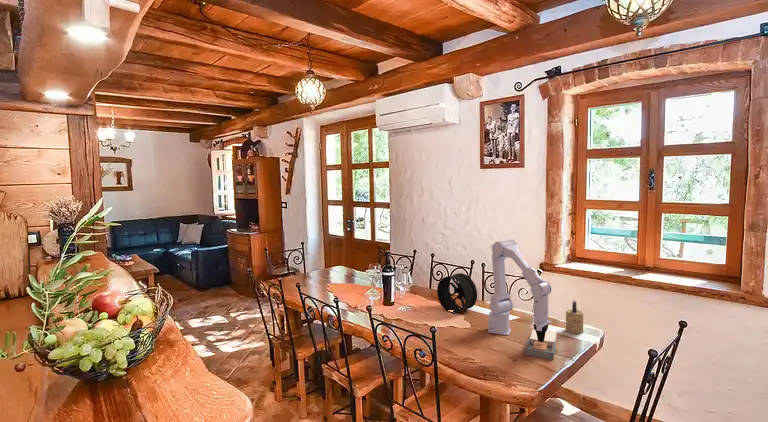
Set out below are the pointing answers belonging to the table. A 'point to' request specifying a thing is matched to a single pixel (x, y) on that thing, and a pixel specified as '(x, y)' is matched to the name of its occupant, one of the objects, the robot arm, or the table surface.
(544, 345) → the tile
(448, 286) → the car wheel rim
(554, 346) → the tray
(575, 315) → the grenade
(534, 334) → the board
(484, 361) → the table surface
